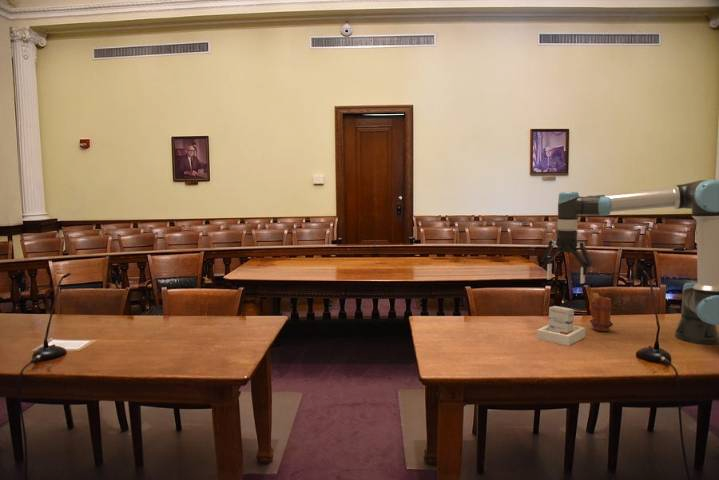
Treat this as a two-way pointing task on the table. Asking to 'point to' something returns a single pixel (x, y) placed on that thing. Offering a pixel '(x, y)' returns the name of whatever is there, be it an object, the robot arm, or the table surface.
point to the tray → (561, 335)
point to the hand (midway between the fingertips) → (565, 281)
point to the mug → (600, 312)
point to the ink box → (560, 320)
